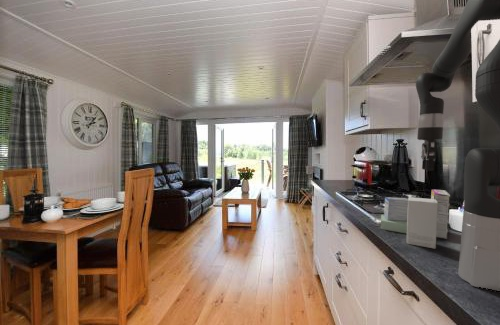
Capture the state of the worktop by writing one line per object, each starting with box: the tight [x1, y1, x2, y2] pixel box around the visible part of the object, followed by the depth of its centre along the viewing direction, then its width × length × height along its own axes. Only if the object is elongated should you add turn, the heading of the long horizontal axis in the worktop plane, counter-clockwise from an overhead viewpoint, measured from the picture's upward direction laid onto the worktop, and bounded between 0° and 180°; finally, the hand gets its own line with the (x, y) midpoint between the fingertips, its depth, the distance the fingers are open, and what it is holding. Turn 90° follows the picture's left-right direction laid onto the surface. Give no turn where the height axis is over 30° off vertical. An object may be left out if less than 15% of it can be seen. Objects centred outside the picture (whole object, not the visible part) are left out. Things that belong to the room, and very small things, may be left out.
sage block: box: [380, 214, 407, 234], centre depth 98 cm, size 10×10×4 cm
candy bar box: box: [430, 189, 451, 240], centre depth 92 cm, size 11×5×16 cm, turn 147°
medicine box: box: [383, 196, 408, 221], centre depth 98 cm, size 8×4×9 cm, turn 78°
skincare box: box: [406, 196, 438, 250], centre depth 82 cm, size 8×7×16 cm
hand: (427, 170), depth 90 cm, fingers open, 8 cm apart
